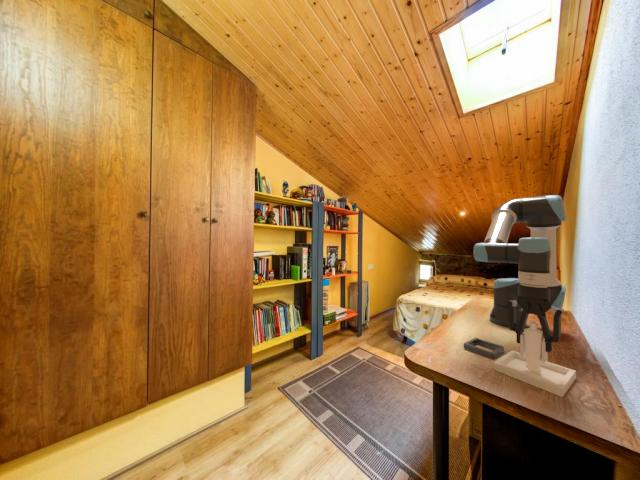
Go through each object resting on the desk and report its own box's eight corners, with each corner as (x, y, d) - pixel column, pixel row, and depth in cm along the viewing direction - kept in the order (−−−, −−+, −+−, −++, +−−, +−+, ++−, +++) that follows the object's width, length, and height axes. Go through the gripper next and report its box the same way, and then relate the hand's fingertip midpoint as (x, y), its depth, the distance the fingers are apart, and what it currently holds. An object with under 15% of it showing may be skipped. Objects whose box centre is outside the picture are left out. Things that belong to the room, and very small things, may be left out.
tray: (512, 356, 85) (512, 350, 85) (575, 378, 72) (575, 370, 72) (493, 369, 76) (493, 362, 76) (562, 397, 63) (562, 388, 63)
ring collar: (475, 342, 97) (475, 337, 97) (504, 351, 89) (504, 346, 89) (463, 348, 92) (463, 343, 92) (493, 359, 83) (493, 353, 83)
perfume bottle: (548, 373, 71) (548, 325, 71) (532, 372, 72) (532, 324, 72) (536, 365, 76) (536, 320, 76) (521, 364, 76) (521, 319, 76)
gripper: (496, 282, 79) (496, 349, 79) (570, 291, 65) (570, 374, 65) (504, 280, 84) (504, 344, 83) (576, 288, 69) (576, 366, 69)
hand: (533, 357), depth 74 cm, fingers closed on perfume bottle, 4 cm apart
